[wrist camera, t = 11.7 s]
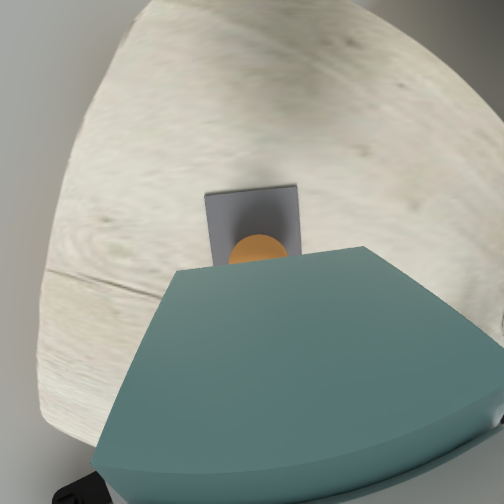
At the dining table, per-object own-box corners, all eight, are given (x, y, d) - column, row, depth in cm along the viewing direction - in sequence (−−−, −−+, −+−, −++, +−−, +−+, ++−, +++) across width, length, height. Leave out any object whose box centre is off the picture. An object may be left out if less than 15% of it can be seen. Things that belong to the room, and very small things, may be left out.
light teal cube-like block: (363, 246, 12) (526, 368, 3) (355, 384, 14) (422, 518, 5) (176, 270, 11) (90, 462, 3) (211, 407, 14) (206, 562, 5)
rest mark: (296, 186, 25) (296, 186, 25) (301, 272, 27) (302, 273, 27) (204, 196, 25) (204, 196, 25) (216, 282, 27) (216, 283, 27)
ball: (297, 275, 21) (292, 299, 25) (284, 218, 23) (282, 249, 28) (227, 285, 21) (235, 307, 25) (222, 226, 23) (229, 257, 28)
